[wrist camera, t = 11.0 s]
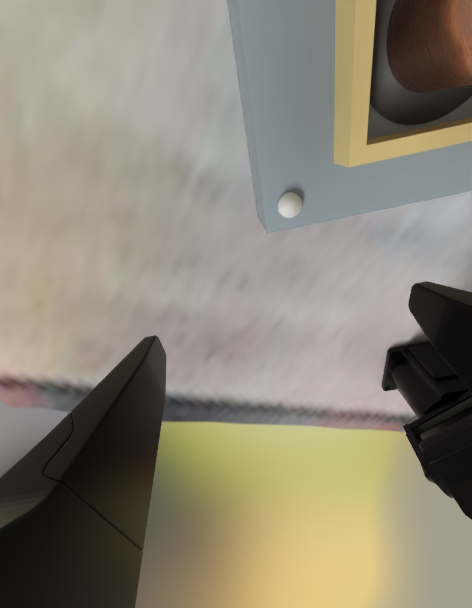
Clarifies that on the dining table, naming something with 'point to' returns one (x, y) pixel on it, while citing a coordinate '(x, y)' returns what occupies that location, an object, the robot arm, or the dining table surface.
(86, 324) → the dining table surface
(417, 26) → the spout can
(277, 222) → the grey plate with frame
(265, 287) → the dining table surface
